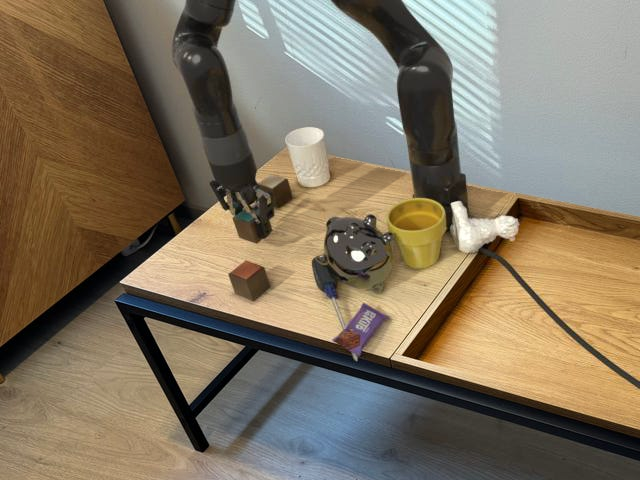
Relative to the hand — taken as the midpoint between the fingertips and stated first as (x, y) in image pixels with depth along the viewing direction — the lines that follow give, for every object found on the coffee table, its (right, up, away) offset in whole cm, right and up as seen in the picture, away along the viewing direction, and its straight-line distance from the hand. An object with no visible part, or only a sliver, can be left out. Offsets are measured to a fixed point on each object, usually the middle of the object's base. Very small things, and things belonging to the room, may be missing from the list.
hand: (255, 232), depth 150 cm
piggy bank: (+24, -1, -14) cm, 28 cm away
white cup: (+7, +14, +20) cm, 25 cm away
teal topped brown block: (0, 0, 0) cm, 0 cm away
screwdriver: (+17, -16, -13) cm, 26 cm away
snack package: (+20, -17, -19) cm, 32 cm away
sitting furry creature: (+37, -1, -3) cm, 37 cm away
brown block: (0, +9, +15) cm, 17 cm away
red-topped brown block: (+1, -11, -6) cm, 13 cm away
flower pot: (+31, -5, -3) cm, 32 cm away
